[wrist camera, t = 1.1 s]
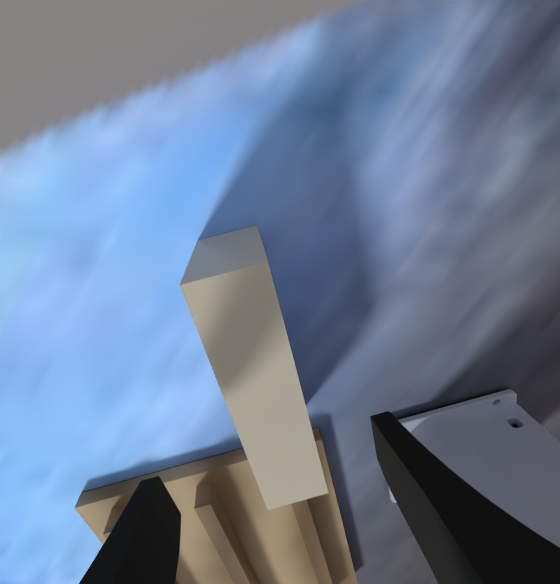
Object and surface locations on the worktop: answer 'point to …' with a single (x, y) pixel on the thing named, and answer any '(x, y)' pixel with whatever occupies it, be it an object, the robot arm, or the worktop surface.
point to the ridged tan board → (238, 525)
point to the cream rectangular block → (254, 363)
